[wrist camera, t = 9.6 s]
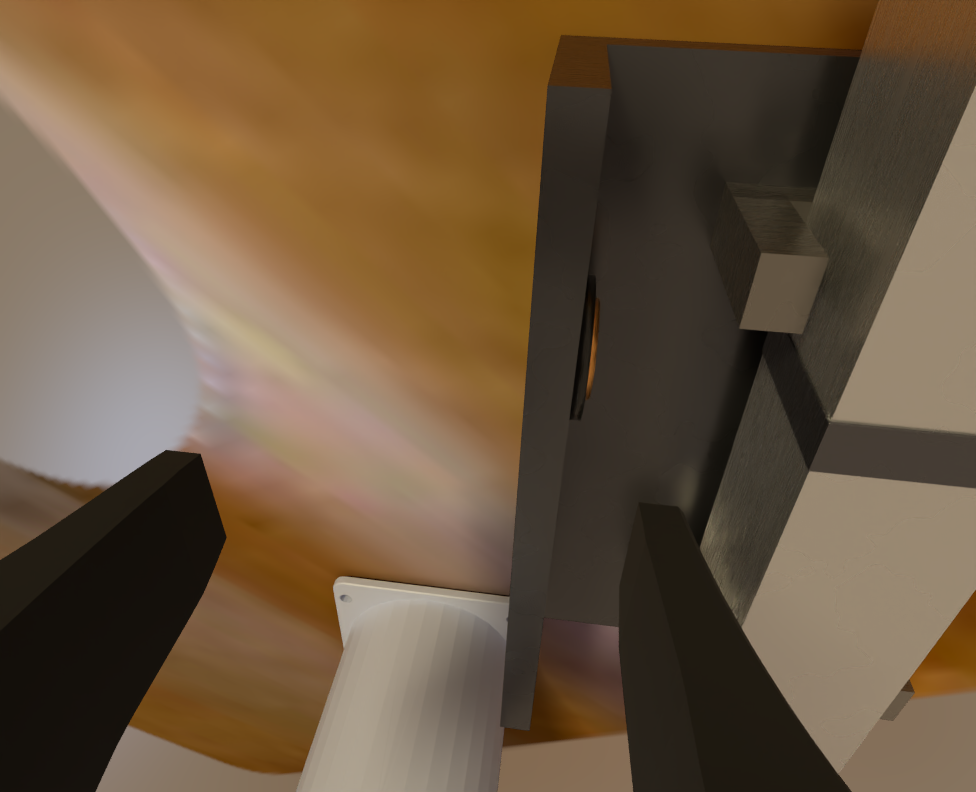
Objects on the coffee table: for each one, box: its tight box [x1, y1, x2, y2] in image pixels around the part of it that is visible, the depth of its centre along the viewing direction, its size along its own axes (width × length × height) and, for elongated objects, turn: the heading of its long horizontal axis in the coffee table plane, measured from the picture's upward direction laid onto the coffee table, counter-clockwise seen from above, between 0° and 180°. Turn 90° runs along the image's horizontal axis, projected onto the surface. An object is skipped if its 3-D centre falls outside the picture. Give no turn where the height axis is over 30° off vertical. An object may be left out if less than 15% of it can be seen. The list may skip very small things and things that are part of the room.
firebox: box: [500, 35, 915, 731], centre depth 18 cm, size 20×15×6 cm
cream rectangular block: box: [700, 0, 976, 774], centre depth 16 cm, size 20×4×4 cm, turn 178°
